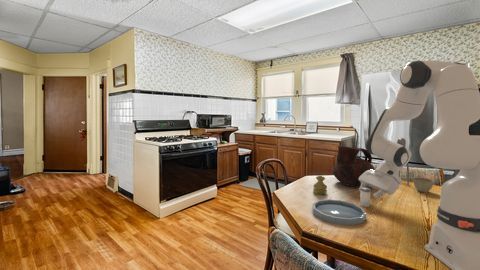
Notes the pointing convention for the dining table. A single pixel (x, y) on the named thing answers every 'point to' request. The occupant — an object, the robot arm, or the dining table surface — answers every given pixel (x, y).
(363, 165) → the jug
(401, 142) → the juicer
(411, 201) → the dining table surface
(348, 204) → the dish
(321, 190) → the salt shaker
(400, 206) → the dining table surface
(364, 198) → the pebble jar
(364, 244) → the dining table surface
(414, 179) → the flower pot
